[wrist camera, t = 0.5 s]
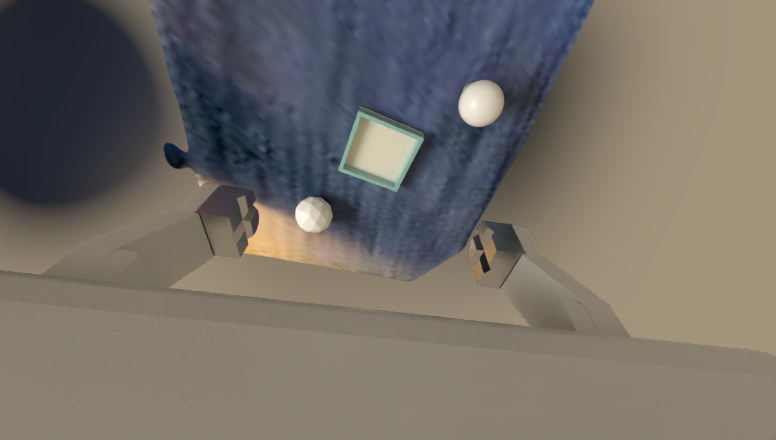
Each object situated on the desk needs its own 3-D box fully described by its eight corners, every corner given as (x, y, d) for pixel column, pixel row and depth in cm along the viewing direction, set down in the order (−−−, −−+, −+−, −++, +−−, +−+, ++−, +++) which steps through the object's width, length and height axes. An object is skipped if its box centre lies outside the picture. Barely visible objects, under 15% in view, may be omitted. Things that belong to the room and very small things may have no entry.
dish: (360, 105, 50) (358, 110, 48) (423, 132, 52) (424, 138, 50) (340, 164, 57) (338, 170, 55) (396, 184, 60) (396, 191, 58)
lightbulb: (484, 109, 49) (501, 134, 41) (447, 107, 49) (458, 132, 41) (494, 69, 45) (516, 88, 37) (455, 67, 45) (468, 85, 37)
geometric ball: (316, 203, 67) (291, 226, 63) (310, 182, 60) (282, 208, 56) (341, 220, 65) (317, 245, 61) (338, 201, 58) (311, 228, 55)
